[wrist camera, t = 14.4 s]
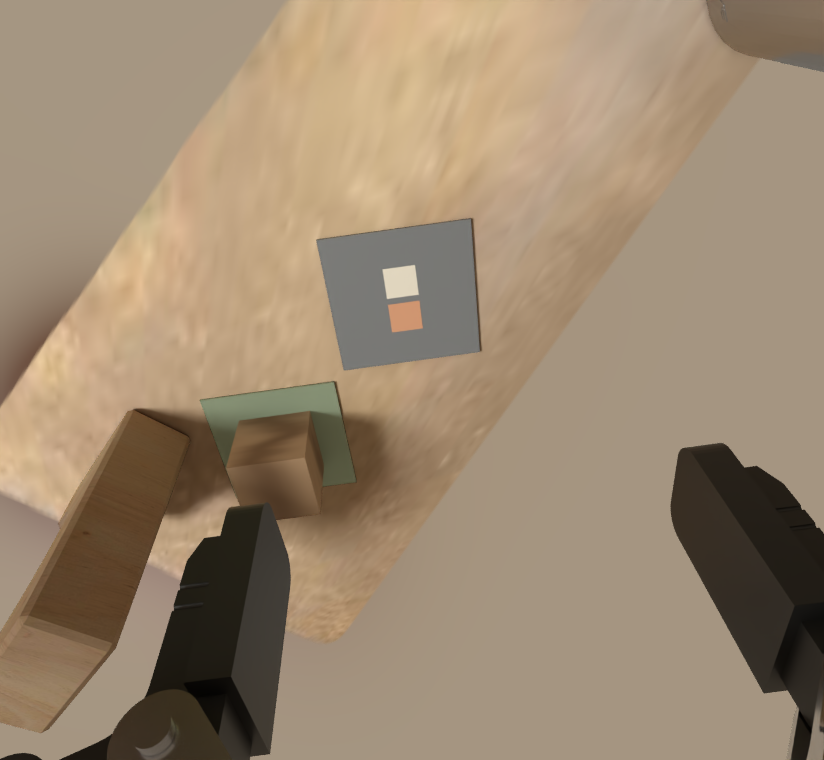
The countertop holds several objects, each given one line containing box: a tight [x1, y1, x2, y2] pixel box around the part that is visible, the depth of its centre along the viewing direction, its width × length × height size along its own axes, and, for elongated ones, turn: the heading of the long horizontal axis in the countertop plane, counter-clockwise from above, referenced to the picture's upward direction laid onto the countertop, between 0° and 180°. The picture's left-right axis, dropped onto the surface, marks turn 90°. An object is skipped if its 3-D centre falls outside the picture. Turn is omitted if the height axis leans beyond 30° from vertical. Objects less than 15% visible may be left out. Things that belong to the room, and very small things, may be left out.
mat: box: [200, 382, 356, 498], centre depth 54 cm, size 11×11×1 cm
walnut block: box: [226, 411, 324, 520], centre depth 51 cm, size 6×6×6 cm
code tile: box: [316, 218, 480, 370], centre depth 47 cm, size 11×11×1 cm
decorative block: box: [0, 410, 190, 733], centre depth 46 cm, size 11×6×20 cm, turn 141°
